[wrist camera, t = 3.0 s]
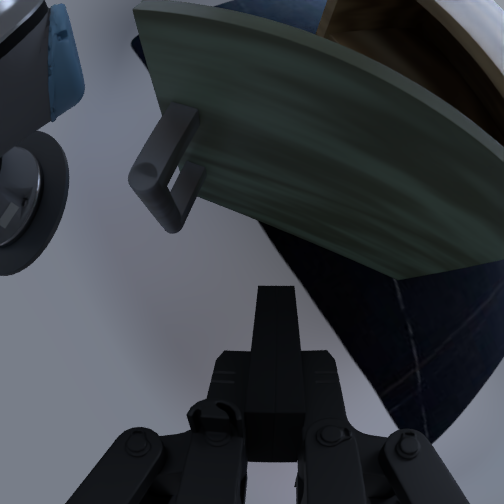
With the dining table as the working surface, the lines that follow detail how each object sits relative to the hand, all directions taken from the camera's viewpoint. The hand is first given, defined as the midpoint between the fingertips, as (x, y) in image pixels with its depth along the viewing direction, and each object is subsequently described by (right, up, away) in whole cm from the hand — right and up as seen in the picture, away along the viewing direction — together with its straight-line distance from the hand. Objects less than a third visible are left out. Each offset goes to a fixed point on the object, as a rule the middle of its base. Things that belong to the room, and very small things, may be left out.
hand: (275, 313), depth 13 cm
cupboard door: (+3, +2, +19) cm, 20 cm away
